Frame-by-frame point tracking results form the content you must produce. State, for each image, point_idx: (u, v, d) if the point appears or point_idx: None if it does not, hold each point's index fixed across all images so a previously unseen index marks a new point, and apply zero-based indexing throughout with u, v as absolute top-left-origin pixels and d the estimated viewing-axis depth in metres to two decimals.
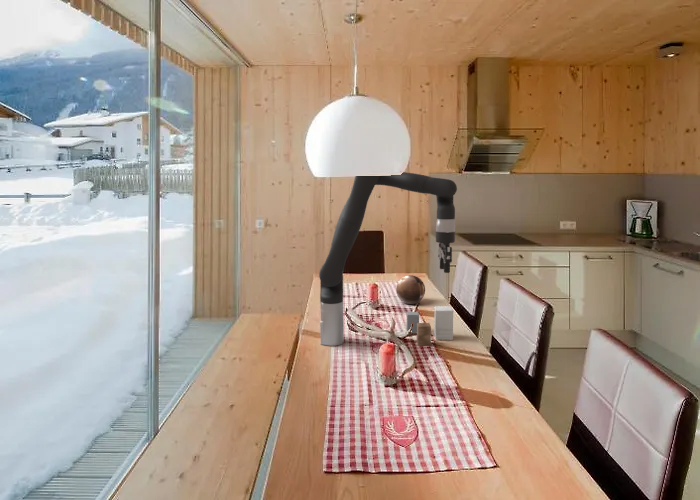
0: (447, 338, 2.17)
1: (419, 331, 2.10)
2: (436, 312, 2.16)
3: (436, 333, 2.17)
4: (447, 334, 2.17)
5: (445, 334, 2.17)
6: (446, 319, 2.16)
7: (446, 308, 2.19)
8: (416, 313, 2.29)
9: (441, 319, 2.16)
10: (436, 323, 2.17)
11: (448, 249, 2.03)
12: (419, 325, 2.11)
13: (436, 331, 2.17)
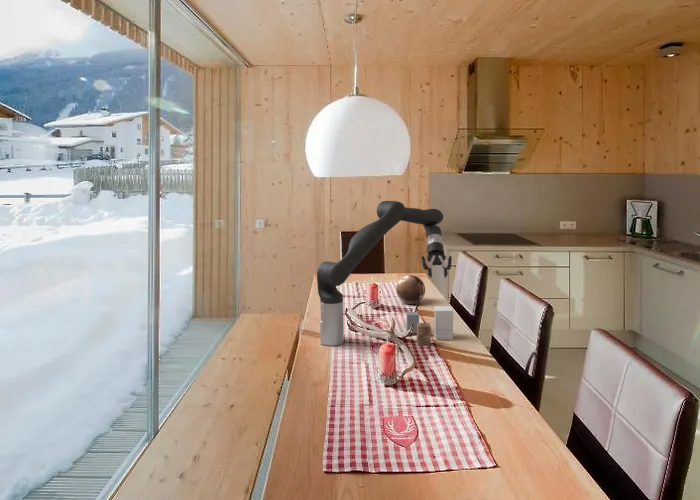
0: (447, 338, 2.17)
1: (419, 331, 2.10)
2: (436, 312, 2.16)
3: (436, 333, 2.17)
4: (447, 334, 2.17)
5: (445, 334, 2.17)
6: (446, 319, 2.16)
7: (446, 308, 2.19)
8: (416, 313, 2.29)
9: (441, 319, 2.16)
10: (436, 323, 2.17)
11: None
12: (419, 325, 2.11)
13: (436, 331, 2.17)
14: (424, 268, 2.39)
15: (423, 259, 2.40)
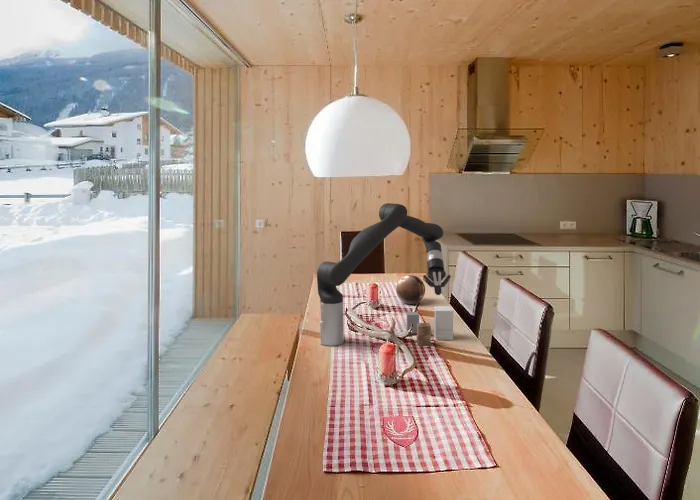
0: (447, 338, 2.17)
1: (419, 331, 2.10)
2: (436, 312, 2.16)
3: (436, 333, 2.17)
4: (447, 334, 2.17)
5: (445, 334, 2.17)
6: (446, 319, 2.16)
7: (446, 308, 2.19)
8: (416, 313, 2.29)
9: (441, 319, 2.16)
10: (436, 323, 2.17)
11: (449, 278, 2.40)
12: (419, 325, 2.11)
13: (436, 331, 2.17)
14: (430, 285, 2.38)
15: (426, 278, 2.39)
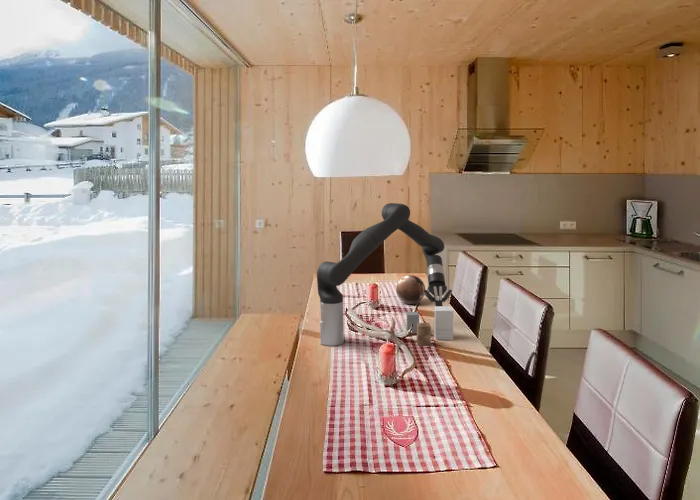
0: (447, 338, 2.17)
1: (419, 331, 2.10)
2: (436, 312, 2.16)
3: (436, 333, 2.17)
4: (447, 334, 2.17)
5: (445, 334, 2.17)
6: (446, 319, 2.16)
7: (446, 308, 2.19)
8: (416, 313, 2.29)
9: (441, 319, 2.16)
10: (436, 323, 2.17)
11: (450, 293, 2.36)
12: (419, 325, 2.11)
13: (436, 331, 2.17)
14: (431, 300, 2.34)
15: (427, 292, 2.35)
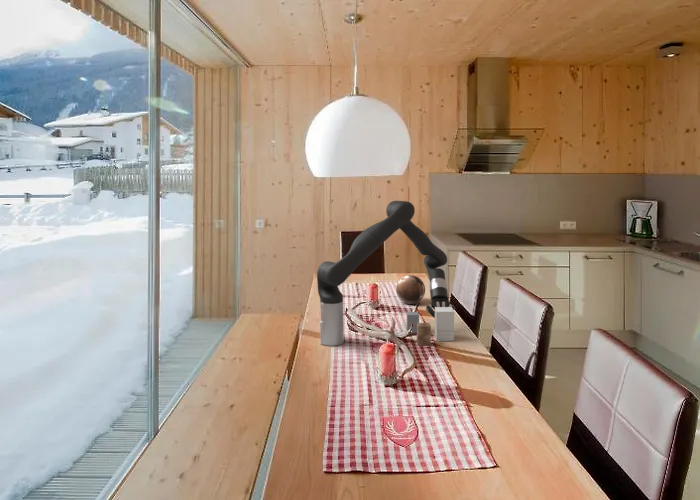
0: (448, 339, 2.16)
1: (419, 331, 2.10)
2: (437, 313, 2.14)
3: (437, 334, 2.16)
4: (448, 335, 2.15)
5: (446, 335, 2.15)
6: (447, 320, 2.15)
7: (447, 309, 2.17)
8: (416, 313, 2.29)
9: (442, 320, 2.15)
10: (437, 324, 2.15)
11: (454, 308, 2.28)
12: (419, 325, 2.11)
13: (437, 332, 2.16)
14: (434, 316, 2.26)
15: (429, 308, 2.27)
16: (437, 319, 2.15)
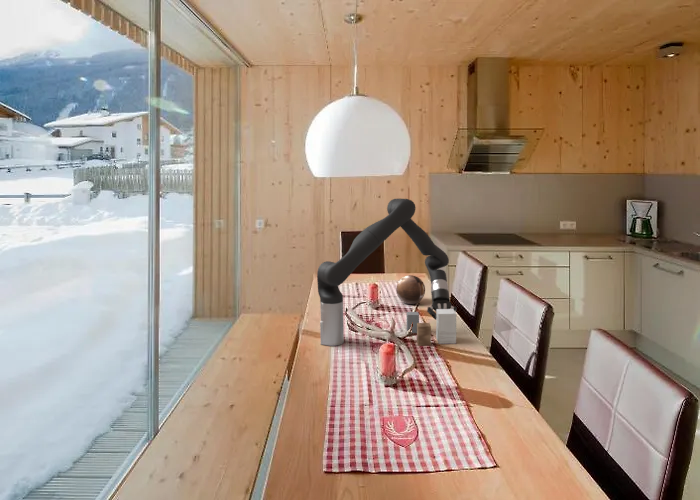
0: (450, 342, 2.12)
1: (419, 331, 2.10)
2: (439, 315, 2.11)
3: (439, 337, 2.12)
4: (450, 338, 2.12)
5: (448, 337, 2.12)
6: (449, 322, 2.11)
7: (449, 311, 2.14)
8: (416, 313, 2.29)
9: (444, 323, 2.11)
10: (438, 327, 2.12)
11: (455, 310, 2.24)
12: (419, 325, 2.11)
13: (439, 335, 2.12)
14: (435, 318, 2.23)
15: (430, 310, 2.23)
16: (439, 321, 2.11)
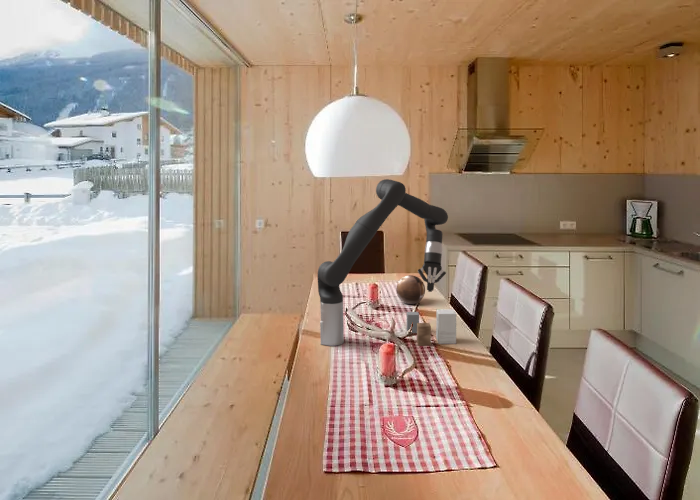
0: (450, 342, 2.12)
1: (419, 331, 2.10)
2: (439, 315, 2.11)
3: (439, 337, 2.12)
4: (450, 338, 2.12)
5: (448, 337, 2.12)
6: (449, 322, 2.11)
7: (449, 311, 2.14)
8: (416, 313, 2.29)
9: (444, 323, 2.11)
10: (438, 327, 2.12)
11: (444, 274, 2.34)
12: (419, 325, 2.11)
13: (439, 335, 2.12)
14: (424, 280, 2.34)
15: (420, 272, 2.33)
16: (439, 321, 2.12)
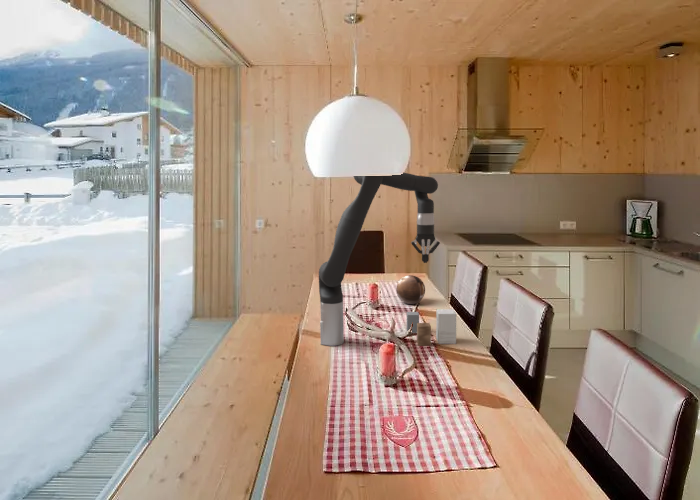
0: (450, 342, 2.12)
1: (419, 331, 2.10)
2: (439, 315, 2.11)
3: (439, 337, 2.12)
4: (450, 338, 2.12)
5: (448, 337, 2.12)
6: (449, 322, 2.11)
7: (449, 311, 2.14)
8: (416, 313, 2.29)
9: (444, 323, 2.11)
10: (438, 327, 2.12)
11: (438, 244, 2.31)
12: (419, 325, 2.11)
13: (439, 335, 2.12)
14: None
15: (414, 245, 2.31)
16: (439, 321, 2.12)
